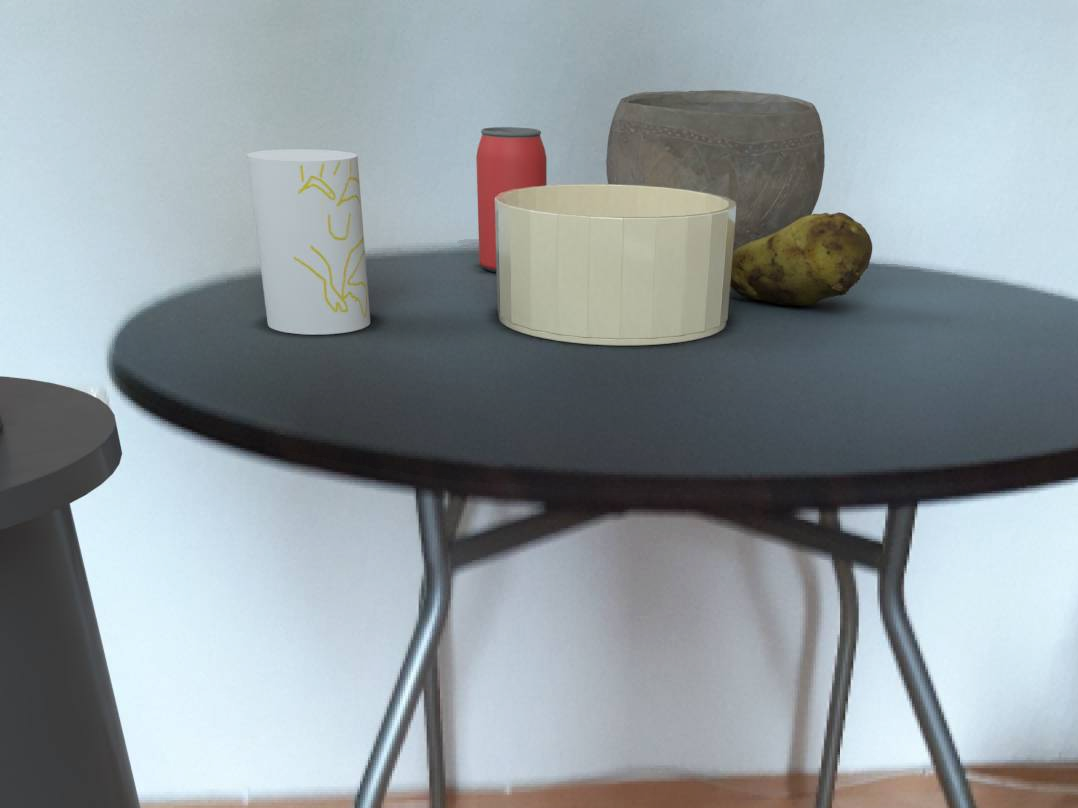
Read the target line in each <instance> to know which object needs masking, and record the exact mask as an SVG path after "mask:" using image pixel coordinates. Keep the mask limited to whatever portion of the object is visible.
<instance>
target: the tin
mask: <svg viewBox="0 0 1078 808" xmlns="http://www.w3.org/2000/svg"><path fill="white" fill-rule="evenodd" d="M735 218H736V202H735V201H733V200H731V199H729V198H727V197H723V196H719V195H716V194H711V193H706V192H700V191H694V190H688V189H679V188H670V187H658V186H644V185H623V184H608V183H570V184H569V183H568V184H567V183H566V184H547V185H546V186H533V187H526V188H519V189H513V190H509V191H506V192H502V193H500V194H498V195H497V196H496V197H495V229H496V272H497V273H496V306H497V307H496V309H497V312H498V314H497V316H498V320H499V321H500V323H501V324H502V325H504V326H505V327H506V328H509V329H510V330H513V331H515V332H518V333H520V334H524V335H527V336H531V337H536V338H540V339H544V340H550V341H551V340H552V341H557V342H564V343H572V344H581V345H582V344H583V345H592V346H593V345H595V346H597V345H598V346H616V347H617V346H619V347H620V346H623V347H624V346H625V347H626V346H627V347H628V346H637V347H638V346H656V345H668V344H670V345H671V344H678V343H684V342H690V341H691V342H692V341H695V340H700V339H704V338H708V337H710V336H713V335H716V334H718V333H719V332H721V331H723V330H724V329H725V328H726V326H727V323H728V316H729V305H730V293H731V286H730V281H731V268H732V256H733V243H734V230H735Z"/></svg>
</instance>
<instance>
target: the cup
mask: <svg viewBox="0 0 1078 808" xmlns="http://www.w3.org/2000/svg"><path fill="white" fill-rule="evenodd" d="M358 159H359V157H358V154H356V153H354V152H349V151H345V150H344V151H343V150H332V149H311V148H308V149H307V148H286V149H282V148H281V149H269V150H268V149H266V150H259V151H258V150H257V151H252V152H248V153H247V154H246V161H247V168H248V177H249V184H250V192H251V199H252V200H251V201H252V208H253V217H254V224H255V233H256V241H257V249H258V257H259V266H260V272H261V280H262V289H263V297H264V305H265V312H266V322H267V326H268V327H269V328H270V329H272V330H274V331H278V332H281V333H286V334H287V333H289V334H295V335H312V336H313V335H317V336H319V335H321V336H322V335H335V334H345V333H351V332H355V331H360V330H362V329H365V328H367V327H368V326H370V325H371V313H370V311H371V310H370V299H369V287H368V286H369V285H368V275H367V274H368V273H367V261H366V249H365V234H364V222H363V213H362V212H363V210H362V198H361V197H362V196H361V185H360V172H359V160H358Z"/></svg>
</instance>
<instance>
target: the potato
mask: <svg viewBox="0 0 1078 808" xmlns="http://www.w3.org/2000/svg"><path fill="white" fill-rule="evenodd" d="M872 254H873V242H872V239H871V236H870V233H868V231H867V229H866V228H865V227H864V226H863V224H861V223H860V222H858V221H856V220H855V219H854V218H853V217H851V216H849V215H848V214H846V213H844V212H839V211H838V212H836V213H828V212H824V213H812V214H811V215H808V216H805V217H802V218H800V219H798V220H796V221H794V222H793V223H792V224H790V225H788V226H786V227H785V228H783V229H781V230H779V231H777V232H775V233H773V234H771V235H767V236H766V237H763V238H761V239H757V240H754V241H752V242H749V243H747V244H745V245H743V246H741V247H739V248H737V249H736V250H735V251H734V252H733V256H732V268H731V281H730V288H731V289H732V290H733V291H734V292H736V293H737V294H738V295H739V296H742V297H744V298H746V299H748V300H758V301H762V302H766V303H771V304H775V305H780V306H791V307H801V306H810V305H813V304H816V303H819V302H821V301H822V300H824V299H828V298H833V297H837V296H844V295H846V294H847V293H848V292H849V291H850V289H851V288H852V287H854V286H855V284H858V282H859V281H860V280H861V277H862V275H863V274H864V272H866V270H867V269H868V268H869V265H870V262H871V259H872Z"/></svg>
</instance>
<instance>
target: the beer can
mask: <svg viewBox="0 0 1078 808" xmlns="http://www.w3.org/2000/svg"><path fill="white" fill-rule="evenodd" d="M480 133H481V137H480V139H479V142H478V143H479V144H478V145H477V152H476V161H475V163H476V191H477V193H476V194H477V227H478V258H479V260H478V261H479V264H480V266H481V267H482V268H483V269H484V270H486V271H488V272H491V273H495V274H497V272H496V229H495V197H496V196H497V195H498V194H500V193H502V192H506V191H509V190H513V189H519V188H526V187H533V186H546V185H548V184H547V183H548V182H547V172H548V171H547V170H548V169H547V167H548V166H547V164H548V163H547V159H548V158H547V154H546V149H545V146H544V143H543V140H542V137H541V134H542V131H541V130H540V129H537V128H532V127H531V128H530V127H516V126H515V127H512V126H500V127H499V126H498V127H497V126H496V127H484V128H482V129H481V130H480Z"/></svg>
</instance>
